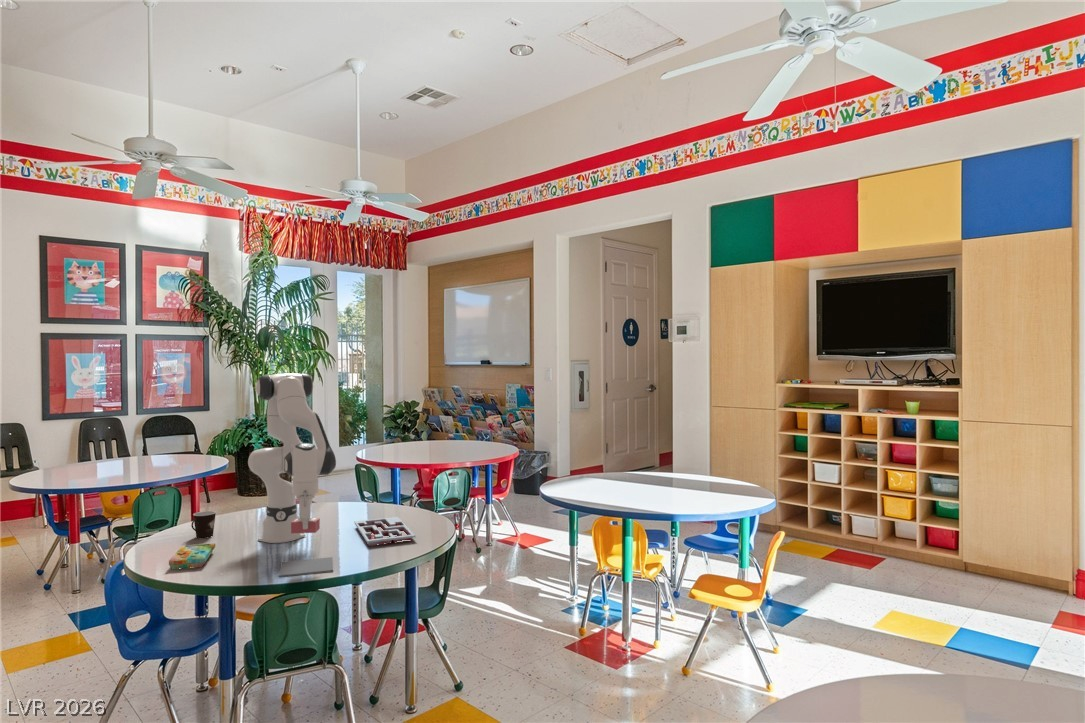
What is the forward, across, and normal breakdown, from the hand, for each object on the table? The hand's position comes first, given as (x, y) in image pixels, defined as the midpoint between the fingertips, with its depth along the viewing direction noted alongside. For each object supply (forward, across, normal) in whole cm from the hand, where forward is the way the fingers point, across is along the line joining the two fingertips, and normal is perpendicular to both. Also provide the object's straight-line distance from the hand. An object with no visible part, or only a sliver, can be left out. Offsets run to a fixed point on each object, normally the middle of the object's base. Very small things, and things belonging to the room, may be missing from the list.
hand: (305, 526), depth 236 cm
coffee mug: (+15, +58, +44) cm, 74 cm away
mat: (+15, 0, 0) cm, 15 cm away
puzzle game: (+16, +22, +41) cm, 49 cm away
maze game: (+16, +36, -31) cm, 50 cm away
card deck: (+2, 0, 0) cm, 2 cm away
